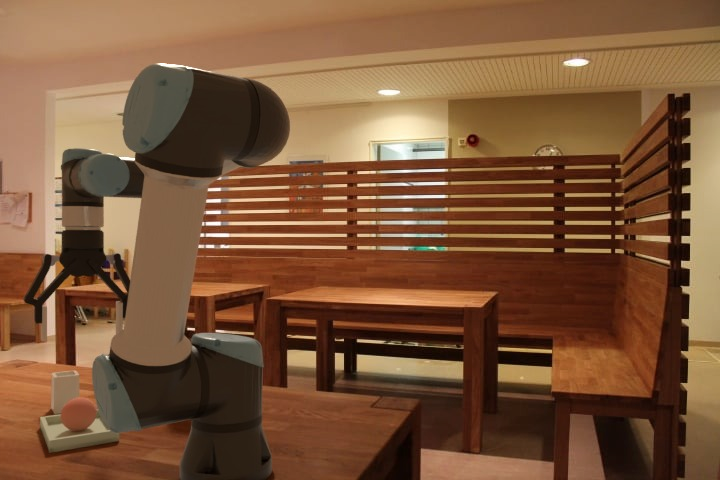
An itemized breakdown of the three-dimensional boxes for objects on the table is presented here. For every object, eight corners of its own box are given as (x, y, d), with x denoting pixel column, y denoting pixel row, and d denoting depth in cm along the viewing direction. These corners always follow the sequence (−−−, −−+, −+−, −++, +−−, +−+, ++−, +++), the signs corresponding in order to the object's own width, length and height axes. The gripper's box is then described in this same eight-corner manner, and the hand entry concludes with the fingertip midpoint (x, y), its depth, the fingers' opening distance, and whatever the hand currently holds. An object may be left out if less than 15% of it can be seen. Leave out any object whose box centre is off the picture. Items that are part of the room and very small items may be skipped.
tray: (119, 441, 117) (119, 429, 117) (49, 452, 110) (49, 440, 110) (103, 418, 130) (103, 408, 130) (40, 427, 124) (40, 417, 124)
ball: (99, 432, 119) (99, 399, 119) (62, 437, 116) (63, 404, 116) (93, 423, 125) (93, 392, 125) (58, 428, 121) (58, 396, 121)
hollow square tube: (79, 410, 135) (79, 374, 135) (54, 414, 133) (54, 377, 133) (75, 405, 140) (75, 370, 140) (51, 408, 137) (51, 372, 137)
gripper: (143, 229, 130) (143, 329, 130) (8, 228, 116) (8, 340, 116) (153, 229, 123) (152, 334, 123) (11, 228, 110) (11, 346, 110)
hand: (82, 337), depth 120 cm, fingers open, 13 cm apart
